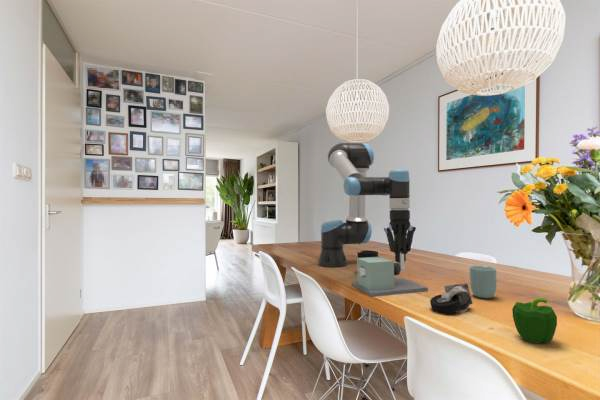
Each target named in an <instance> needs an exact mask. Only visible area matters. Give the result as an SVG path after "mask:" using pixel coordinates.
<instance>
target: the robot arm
mask: <svg viewBox="0 0 600 400" xmlns="http://www.w3.org/2000/svg"><path fill="white" fill-rule="evenodd" d="M374 154H375V153H374V149H373V147H372V146H371V145H370V143H366V142H365V143H364V142H340V143H337V144H335V145H333V146H332V147H331V148H330V149H329V150H328V154H327V159H328V160H327V161H328V163H329V165H330V166H331V167H332V168H334V169H335V170H336V171H337V173H338V174H339V175H340V177H341V178H342V180H343V190H344V193H345V195H346V196H349V198H348V199H349V201H348V216H347V217H346V218H345V222H344V220H341V219H340V220H339V219H337V220H329V221H325V222H323V223H322V224H321V225H320V226H321V228H320V235H321V236H320V239H321V240H320V243H321V244H320V245H321V251H320V254H319V257H318V261H317V262H318V266H320V267H324V268H325V267H327V268H338V267H339V268H341V267H345V266H347V262H348V260H347V257H346V255H345V251H344V245H363V244H366V243H368V242H369V241H370V239H371V237H372V231H373V229H372V224H371V223H370V222H369V220H368V218H367V217H366V196H388V197H389V198H388V199H389V203H388V204H389V205H388V207H389V209H390V210H389V224H388V226H387V227H383V231H384V232H385V235H386V239H387V242H388V246H389V250H390V252H391V253H394V262H395V263H397V264H398V265H399V267H400V272H405V262H406V260H407V257H406V256H407V254H408V252H410V251H411V249H412V244H413V239H414V234H415V232H416V230H417V229H416V227H415V226H412V225H411V222H410V218H411V211H410V210H409V209H410V208H411V207H410V206H411V205H410V181H411V179H410V172H409V170H408V169H403V168H402V169H401V168H400V169H390V170H389V172H388V176H377V177H376V176H375V177H374V176H373V177H371V176H370V177H369V176H368V177H367V172H368V171H369V170H370V167H371V166H372V165H373V164H374V159H375V158H374V157H375V155H374Z"/></svg>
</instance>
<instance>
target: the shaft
mask: <svg viewBox="0 0 600 400" xmlns="http://www.w3.org/2000/svg"><path fill="white" fill-rule="evenodd" d="M358 273H359V275H360V276H365V267H363V268H359V269H358ZM400 274H401V271H400V267H399V265H398V264H397V262H394V276H399V275H400Z"/></svg>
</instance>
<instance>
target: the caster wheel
mask: <svg viewBox="0 0 600 400" xmlns="http://www.w3.org/2000/svg"><path fill="white" fill-rule="evenodd" d="M443 287H444V291H445V292H443V293H441V294H438V295H434V296H433V297H432V298H430V300H429V303H430V307H431V310H432V311H433V312H435V313H437V314H442V315H447V314H453V313H457V314H463V313H465V312H466V311H467V310H468V309H469V307H470V305H472V304H473V301H472V300H473V299H472V296H471V293H470V291H471V290H470V289H469V288H470V287H469V285H468V283H457V284H449V285H444V286H443Z"/></svg>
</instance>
